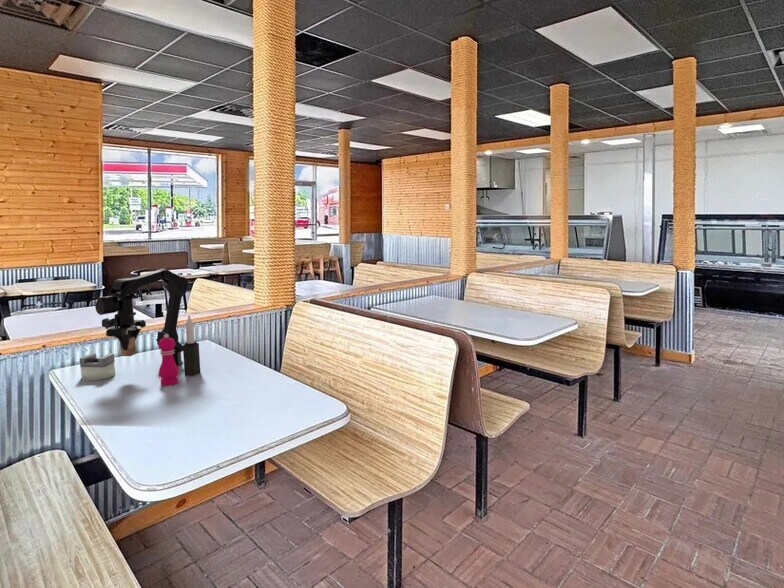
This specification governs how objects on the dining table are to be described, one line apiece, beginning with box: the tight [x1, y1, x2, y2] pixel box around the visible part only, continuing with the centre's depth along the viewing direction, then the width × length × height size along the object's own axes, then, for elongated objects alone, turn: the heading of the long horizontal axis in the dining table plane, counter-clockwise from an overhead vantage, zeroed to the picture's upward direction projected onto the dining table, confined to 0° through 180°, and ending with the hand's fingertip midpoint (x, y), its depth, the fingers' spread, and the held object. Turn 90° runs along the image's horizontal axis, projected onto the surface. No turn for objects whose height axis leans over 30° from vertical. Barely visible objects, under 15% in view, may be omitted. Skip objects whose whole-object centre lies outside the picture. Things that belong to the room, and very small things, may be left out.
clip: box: [79, 352, 116, 368], centre depth 205 cm, size 10×8×4 cm
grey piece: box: [80, 362, 116, 381], centre depth 206 cm, size 12×12×5 cm
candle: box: [182, 315, 201, 377], centre depth 208 cm, size 5×5×25 cm
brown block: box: [119, 337, 137, 357], centre depth 203 cm, size 4×4×7 cm
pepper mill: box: [157, 334, 180, 387], centre depth 197 cm, size 7×7×20 cm
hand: (128, 348), depth 203 cm, fingers closed on brown block, 4 cm apart
